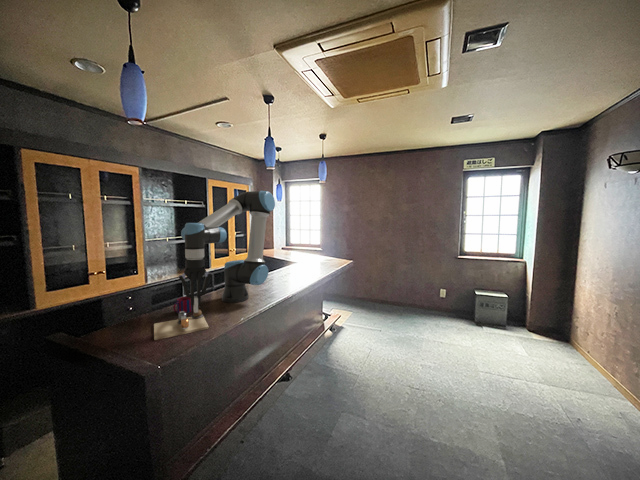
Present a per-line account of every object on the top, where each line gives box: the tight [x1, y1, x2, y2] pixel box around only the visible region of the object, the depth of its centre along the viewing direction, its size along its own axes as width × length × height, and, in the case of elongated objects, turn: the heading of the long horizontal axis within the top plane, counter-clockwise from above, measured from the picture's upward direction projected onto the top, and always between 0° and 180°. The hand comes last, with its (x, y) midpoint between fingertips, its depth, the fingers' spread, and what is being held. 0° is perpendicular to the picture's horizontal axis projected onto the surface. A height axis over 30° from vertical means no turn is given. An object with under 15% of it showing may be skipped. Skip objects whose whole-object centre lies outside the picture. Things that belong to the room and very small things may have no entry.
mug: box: [172, 296, 193, 314], centre depth 129 cm, size 7×10×7 cm
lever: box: [178, 311, 189, 329], centre depth 113 cm, size 3×16×4 cm, turn 33°
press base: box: [153, 309, 210, 341], centre depth 112 cm, size 20×16×5 cm
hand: (195, 311), depth 112 cm, fingers closed
